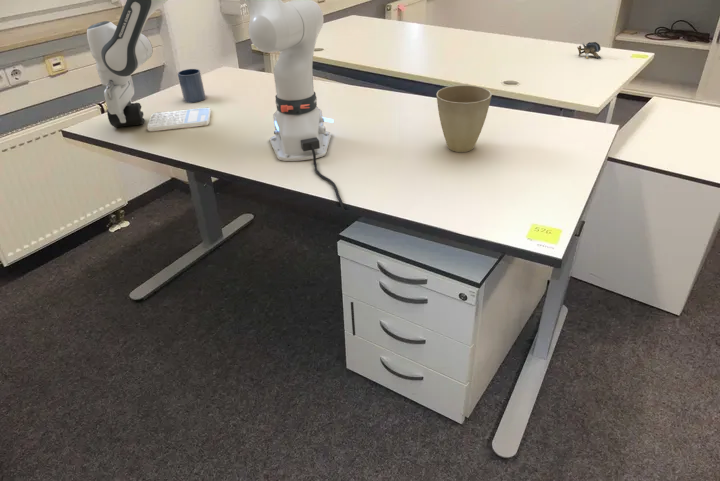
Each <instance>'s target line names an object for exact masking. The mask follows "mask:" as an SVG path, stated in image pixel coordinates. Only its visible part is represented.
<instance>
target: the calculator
mask: <svg viewBox="0 0 720 481" xmlns="http://www.w3.org/2000/svg"><path fill="white" fill-rule="evenodd" d="M211 109H212V108H210V107H200V108H199V107H198V108H191V109H189V108H188V109H181V110H180V109H179V110H169V111H160V112H153V113H152V114H151V115H150V117H149V120H148V122H147V125H146V128H147V131H148V132H158V131H166V130H178V129H186V128H195V127H204V126H205V127H206V126H208V125H209V124H210V120H211V114H212V110H211Z"/></svg>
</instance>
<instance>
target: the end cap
mask: <svg viewBox="0 0 720 481" xmlns="http://www.w3.org/2000/svg"><path fill="white" fill-rule="evenodd" d="M106 111H107V114H106V116H107V119H108V122H109V124H110V125H111V126H112V127H113V128H121V127H122V128H123V127H131V126H132V127H133V126H139V125H144V123H145V118H144V112H143V110H142V105H141V103H140V102H131V104H130V105H129V106H126V107H125V108H124V110H123V111H124V112H123V113H124V115H125V116H126V119H127V121H126V123H121V122H120V119H119V118H118V116H117V115H116V114H110V113H109V111H108V108H107V110H106Z"/></svg>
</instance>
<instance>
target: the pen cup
mask: <svg viewBox="0 0 720 481" xmlns="http://www.w3.org/2000/svg"><path fill="white" fill-rule="evenodd" d="M201 73H202V72H201V70H200V69H198V68H186V69H182V70H180V71H178V72H177V77H178V81H179V86H180V90H181V94H182V97H183V102H185V103H190V104H192V103H193V104H194V103H199V102H202V101H204V100H206V99H207V98H206V91H205V87H204V81H203V77H202V74H201Z"/></svg>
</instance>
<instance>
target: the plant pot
mask: <svg viewBox="0 0 720 481" xmlns="http://www.w3.org/2000/svg"><path fill="white" fill-rule="evenodd" d="M492 94H493V93H492V91H491V90H489V89H487V88H486V87H482V86H477V85H471V84H458V85H450V86H446V87H442V88H441V89H439V90H437V92H436V94H435V95H436V102H437V110H438V116H439V122H440V126H441V130H442V134H443V137H444V141H445V143H446V147H447V148H448V149H449V150H450V151H452V152H456V153H467V152H471V151H472V150H473V149H474V148H475V146H476V143H477V142H478V139H479V137H480V135H481V133H482V130H483V128H484V125H485V122H486V118H487V116H488V112H489V108H490V104H491V99H492Z"/></svg>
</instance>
